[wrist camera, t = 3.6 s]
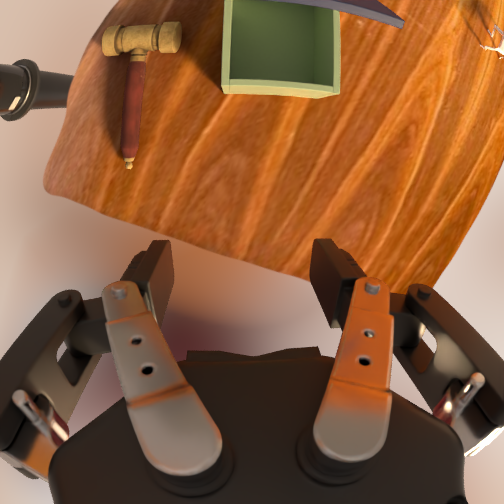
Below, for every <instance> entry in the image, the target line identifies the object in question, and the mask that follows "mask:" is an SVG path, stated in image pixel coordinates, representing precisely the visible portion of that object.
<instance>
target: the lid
mask: <svg viewBox="0 0 504 504" xmlns="http://www.w3.org/2000/svg"><path fill="white" fill-rule="evenodd" d="M264 1H277V2H287V3H296V4H303V5H310V6H316V7H322V8H327V9H332V10H337V11H342V12H346V13H350V14H354V15H358V16H362V17H366V18H369V19H373V20H376V21H379V22H382V23H386V24H389V25H392V26H394V27H397V28H400V29H402V27H403V25H404V22H405V21H404V20H403V19H401V18H400V17H399V16H398V15H396V14H395V13H394V12H392V11H391V10H390V9H388V8H387V7H386V6H384V5H383V4H382V3H380V2H379V1H377V0H264Z"/></svg>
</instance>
